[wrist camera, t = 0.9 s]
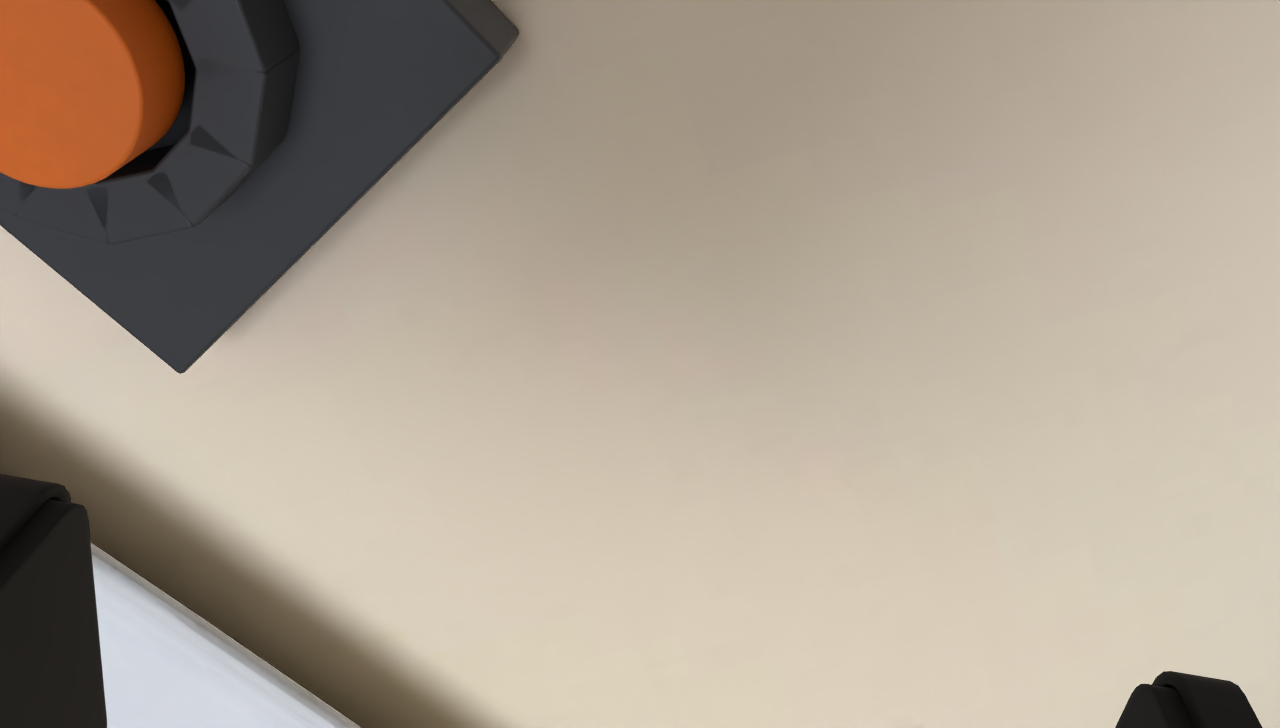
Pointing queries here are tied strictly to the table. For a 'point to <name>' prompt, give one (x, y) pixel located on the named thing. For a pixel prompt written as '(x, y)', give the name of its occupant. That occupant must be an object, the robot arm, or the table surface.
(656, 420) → the table surface
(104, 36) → the button
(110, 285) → the button block
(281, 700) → the tray
